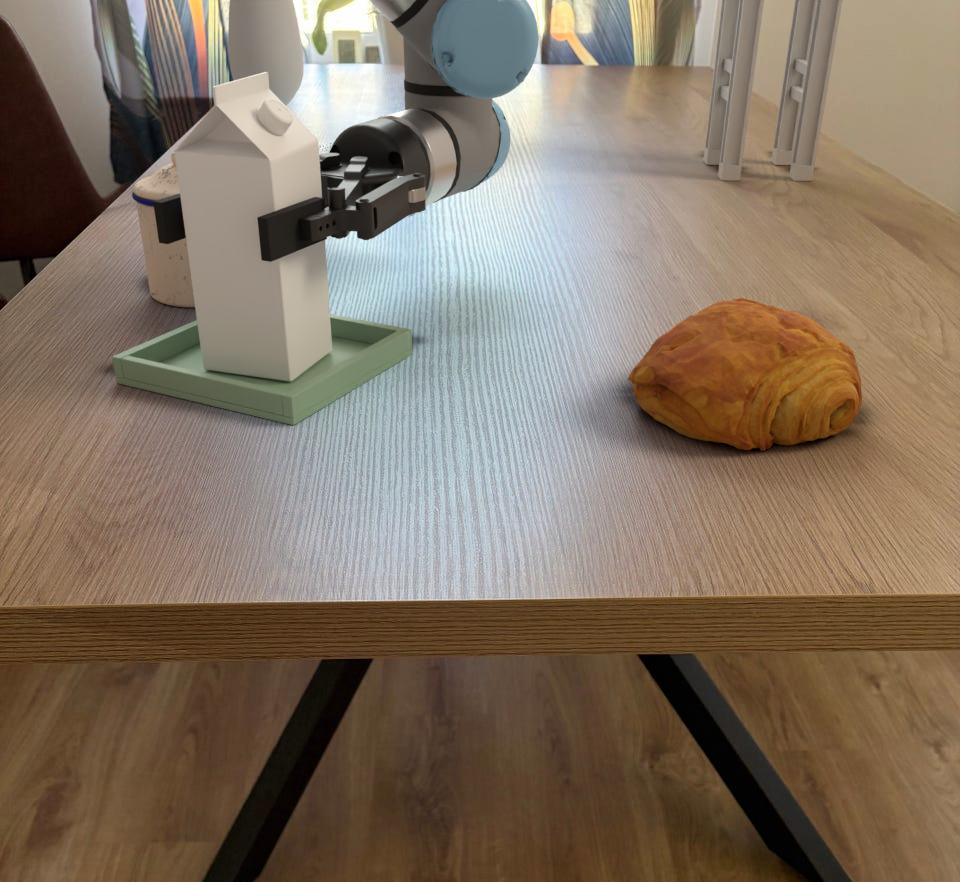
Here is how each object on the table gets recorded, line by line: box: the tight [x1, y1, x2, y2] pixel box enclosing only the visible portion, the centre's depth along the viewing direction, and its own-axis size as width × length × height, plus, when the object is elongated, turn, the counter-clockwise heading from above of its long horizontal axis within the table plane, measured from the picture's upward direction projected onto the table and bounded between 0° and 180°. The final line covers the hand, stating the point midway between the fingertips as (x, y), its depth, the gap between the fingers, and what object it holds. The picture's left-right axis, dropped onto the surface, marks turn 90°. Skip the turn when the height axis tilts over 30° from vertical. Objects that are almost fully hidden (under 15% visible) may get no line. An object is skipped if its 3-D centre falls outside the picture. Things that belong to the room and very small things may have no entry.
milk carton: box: [173, 72, 332, 381], centre depth 78 cm, size 7×7×19 cm
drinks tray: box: [111, 313, 413, 426], centre depth 83 cm, size 16×16×2 cm
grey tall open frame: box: [702, 0, 843, 182], centre depth 133 cm, size 16×16×35 cm
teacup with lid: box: [131, 151, 195, 308], centre depth 96 cm, size 12×9×12 cm
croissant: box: [627, 297, 863, 452], centre depth 76 cm, size 14×16×8 cm
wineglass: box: [227, 0, 305, 107], centre depth 119 cm, size 8×8×21 cm
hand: (211, 231), depth 74 cm, fingers closed on milk carton, 8 cm apart
